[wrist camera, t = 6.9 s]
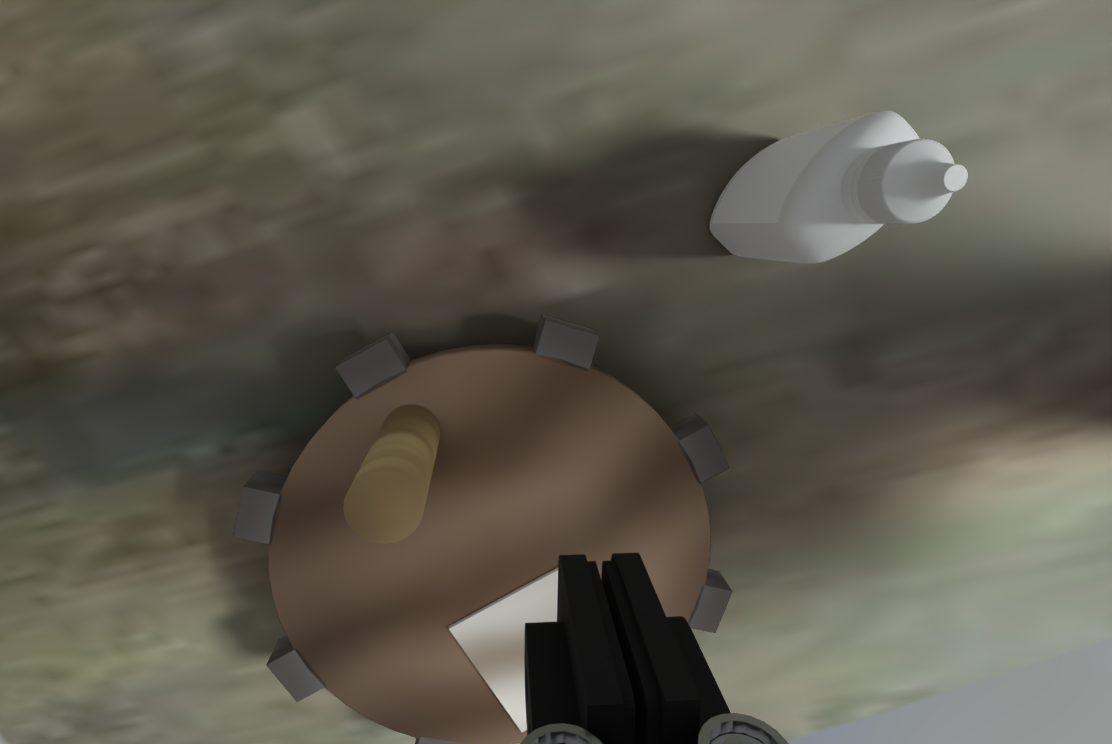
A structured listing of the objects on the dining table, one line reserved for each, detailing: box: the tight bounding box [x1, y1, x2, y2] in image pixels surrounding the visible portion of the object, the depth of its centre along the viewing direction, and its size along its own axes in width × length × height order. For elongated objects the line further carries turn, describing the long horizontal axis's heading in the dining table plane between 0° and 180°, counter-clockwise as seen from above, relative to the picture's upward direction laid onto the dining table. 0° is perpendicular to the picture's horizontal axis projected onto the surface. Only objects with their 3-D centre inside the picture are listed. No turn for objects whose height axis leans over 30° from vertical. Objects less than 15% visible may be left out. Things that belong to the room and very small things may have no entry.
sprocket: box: [233, 315, 732, 744], centre depth 24 cm, size 23×23×9 cm
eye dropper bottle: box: [710, 111, 968, 264], centre depth 22 cm, size 4×6×12 cm
